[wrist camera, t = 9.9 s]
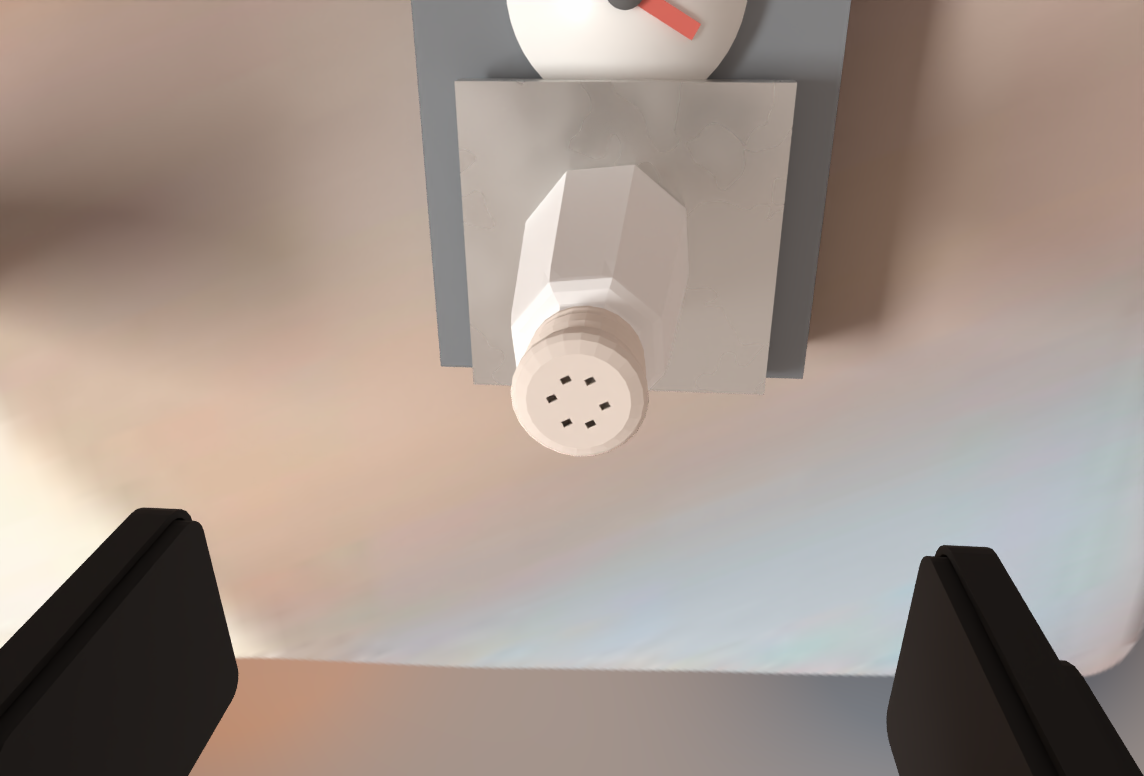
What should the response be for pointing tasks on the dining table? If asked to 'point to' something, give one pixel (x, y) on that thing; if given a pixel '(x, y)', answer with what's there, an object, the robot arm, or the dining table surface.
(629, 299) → the pepper shaker
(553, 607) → the dining table surface
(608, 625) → the dining table surface
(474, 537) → the dining table surface
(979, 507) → the dining table surface
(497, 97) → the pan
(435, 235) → the scale base
